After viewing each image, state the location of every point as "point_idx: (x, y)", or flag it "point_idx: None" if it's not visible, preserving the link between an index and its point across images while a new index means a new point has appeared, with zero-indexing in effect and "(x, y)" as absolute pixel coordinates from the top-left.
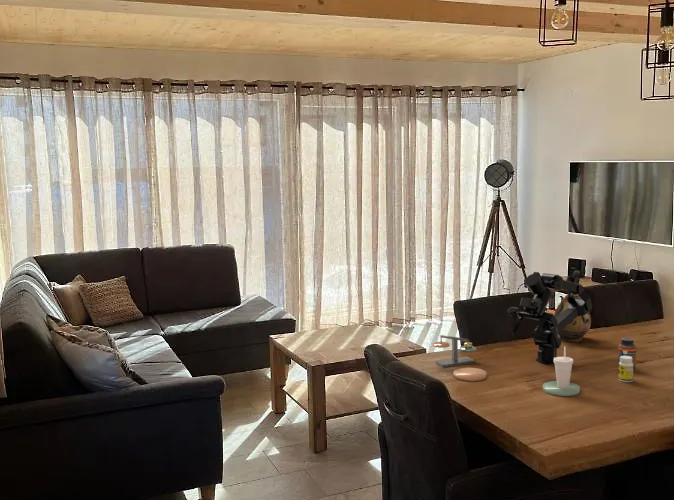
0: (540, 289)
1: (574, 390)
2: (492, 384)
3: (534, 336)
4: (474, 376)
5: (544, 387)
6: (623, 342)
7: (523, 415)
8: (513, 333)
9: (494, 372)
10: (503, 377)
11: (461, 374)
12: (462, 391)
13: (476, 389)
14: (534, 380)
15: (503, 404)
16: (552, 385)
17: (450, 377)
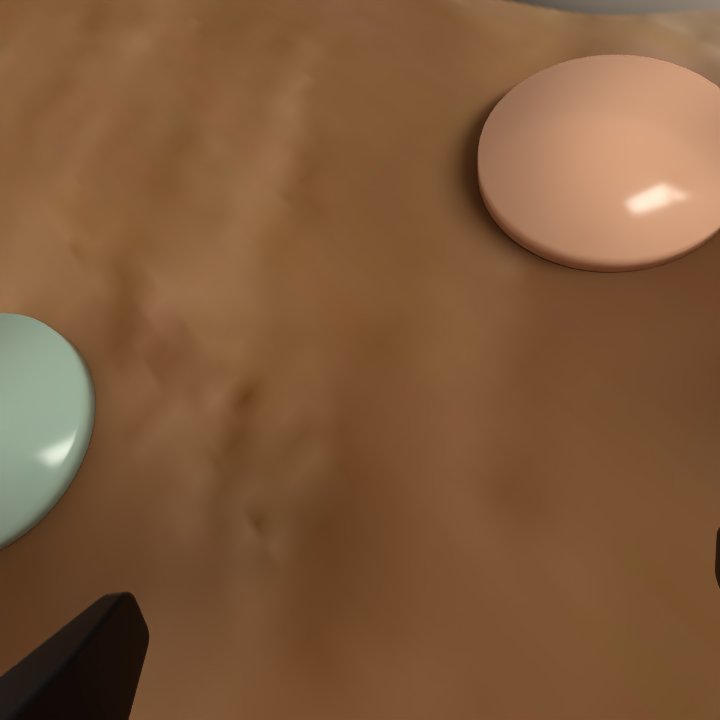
0: None
1: None
2: (365, 178)
3: (97, 605)
4: (513, 126)
5: (45, 330)
6: None
7: (6, 56)
8: (717, 566)
9: (564, 353)
10: (421, 323)
11: (607, 86)
12: (393, 5)
13: (366, 69)
14: (216, 453)
15: (133, 60)
16: (17, 400)
17: None
